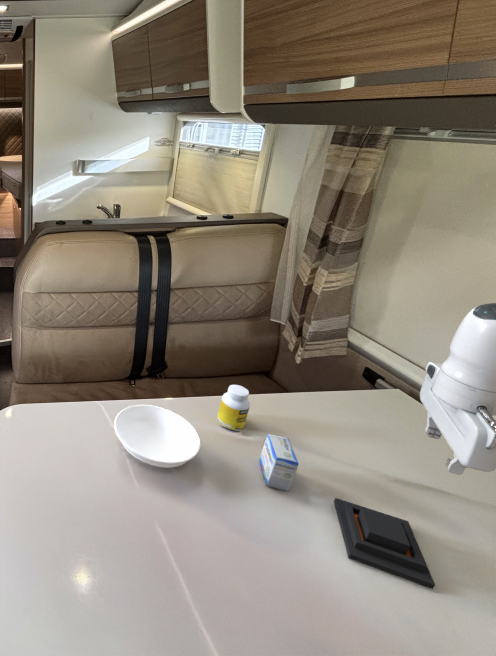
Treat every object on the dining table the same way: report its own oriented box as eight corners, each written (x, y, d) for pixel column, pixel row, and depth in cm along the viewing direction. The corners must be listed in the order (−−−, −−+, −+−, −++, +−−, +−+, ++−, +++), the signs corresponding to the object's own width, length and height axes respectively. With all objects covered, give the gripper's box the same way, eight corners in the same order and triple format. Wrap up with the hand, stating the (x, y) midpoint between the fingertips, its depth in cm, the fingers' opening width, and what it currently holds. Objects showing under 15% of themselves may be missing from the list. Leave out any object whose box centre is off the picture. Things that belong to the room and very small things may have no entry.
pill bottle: (229, 436, 111) (238, 400, 106) (210, 419, 117) (218, 384, 112) (249, 431, 112) (259, 395, 108) (230, 415, 118) (238, 380, 114)
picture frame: (406, 525, 87) (411, 515, 86) (432, 589, 76) (438, 579, 75) (333, 501, 93) (337, 492, 92) (348, 558, 81) (352, 548, 80)
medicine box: (258, 460, 103) (266, 432, 100) (279, 465, 102) (288, 437, 99) (266, 486, 96) (275, 457, 93) (289, 492, 95) (299, 462, 92)
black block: (394, 530, 85) (400, 520, 84) (404, 557, 80) (410, 546, 79) (356, 517, 87) (361, 507, 86) (364, 542, 83) (369, 532, 81)
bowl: (207, 488, 96) (212, 467, 94) (116, 478, 99) (119, 457, 97) (183, 427, 114) (187, 408, 112) (107, 419, 117) (109, 401, 115)
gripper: (531, 436, 64) (494, 502, 69) (468, 365, 81) (442, 423, 86) (473, 423, 67) (441, 488, 72) (424, 357, 84) (401, 414, 89)
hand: (441, 452), depth 79 cm, fingers open, 8 cm apart
